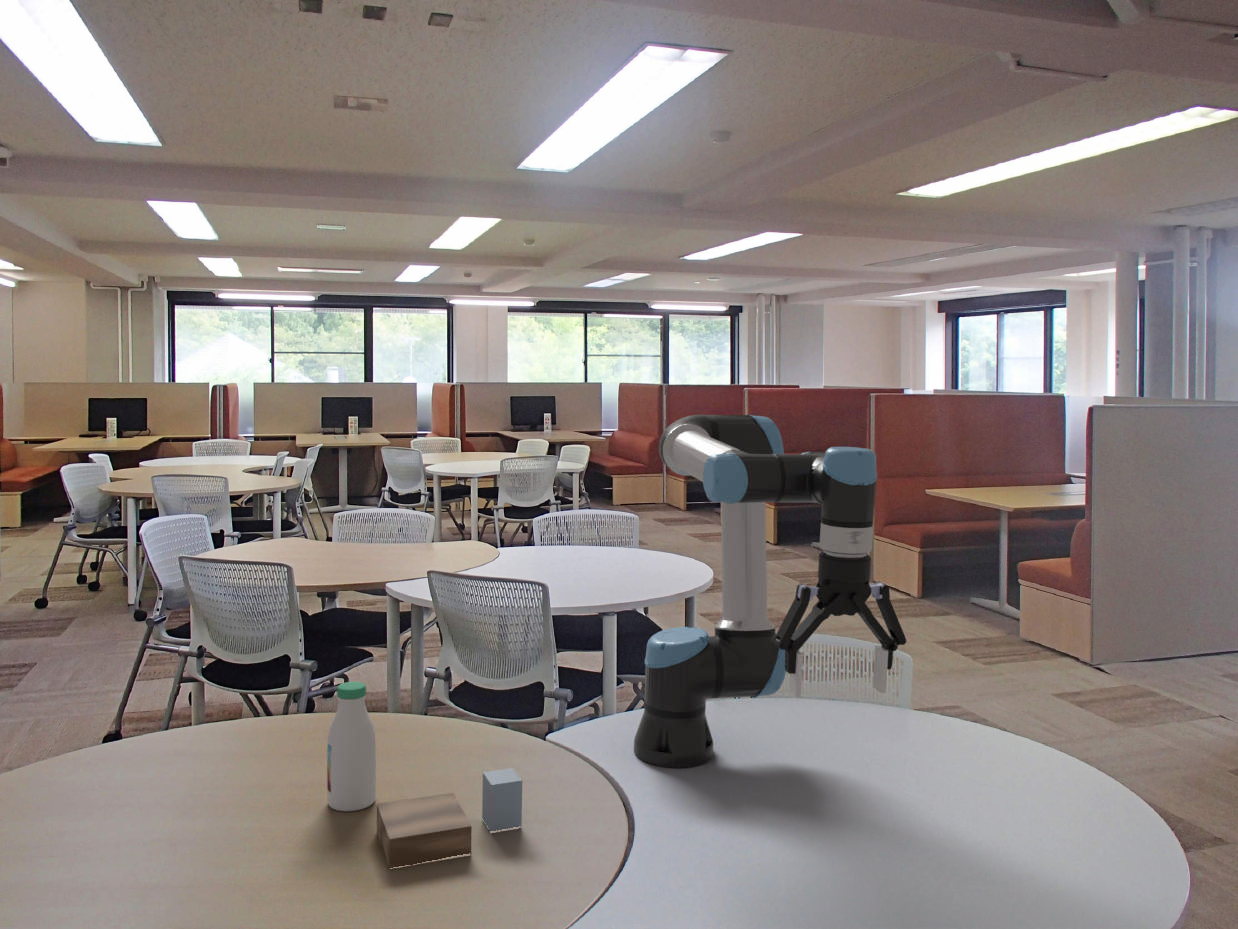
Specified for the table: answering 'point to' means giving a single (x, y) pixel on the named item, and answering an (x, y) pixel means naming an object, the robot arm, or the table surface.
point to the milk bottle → (351, 752)
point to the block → (502, 799)
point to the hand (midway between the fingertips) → (837, 692)
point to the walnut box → (423, 829)
